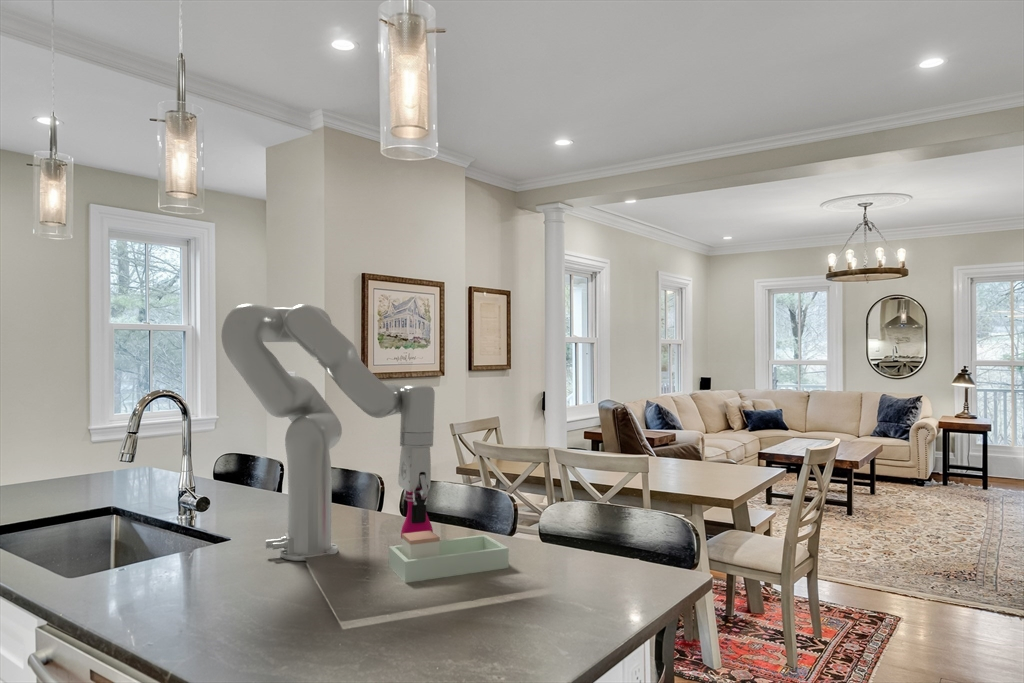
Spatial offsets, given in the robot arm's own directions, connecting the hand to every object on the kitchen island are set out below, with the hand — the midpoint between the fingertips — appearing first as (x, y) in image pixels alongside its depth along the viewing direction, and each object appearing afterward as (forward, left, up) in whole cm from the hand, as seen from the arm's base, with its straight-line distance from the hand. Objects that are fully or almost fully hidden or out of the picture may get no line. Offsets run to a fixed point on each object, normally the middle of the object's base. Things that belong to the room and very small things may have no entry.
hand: (414, 518), depth 152 cm
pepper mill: (+1, 0, -8) cm, 8 cm away
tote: (+3, -15, -8) cm, 17 cm away
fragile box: (-3, -15, -7) cm, 17 cm away
